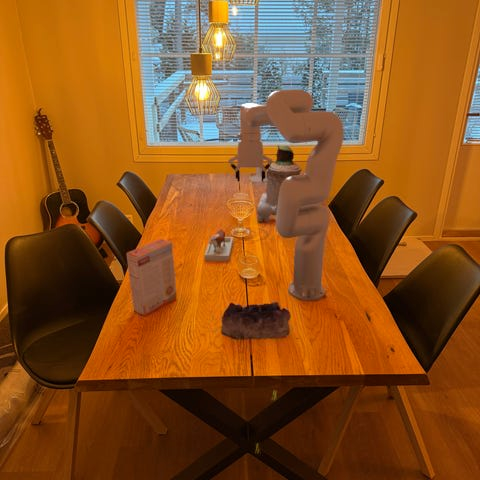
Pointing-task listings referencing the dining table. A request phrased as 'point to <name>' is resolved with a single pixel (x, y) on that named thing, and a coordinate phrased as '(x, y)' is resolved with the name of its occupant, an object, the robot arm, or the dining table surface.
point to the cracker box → (152, 276)
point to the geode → (255, 321)
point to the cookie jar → (279, 174)
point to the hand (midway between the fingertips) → (250, 180)
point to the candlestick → (258, 175)
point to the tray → (225, 250)
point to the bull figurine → (218, 239)
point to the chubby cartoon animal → (265, 212)
